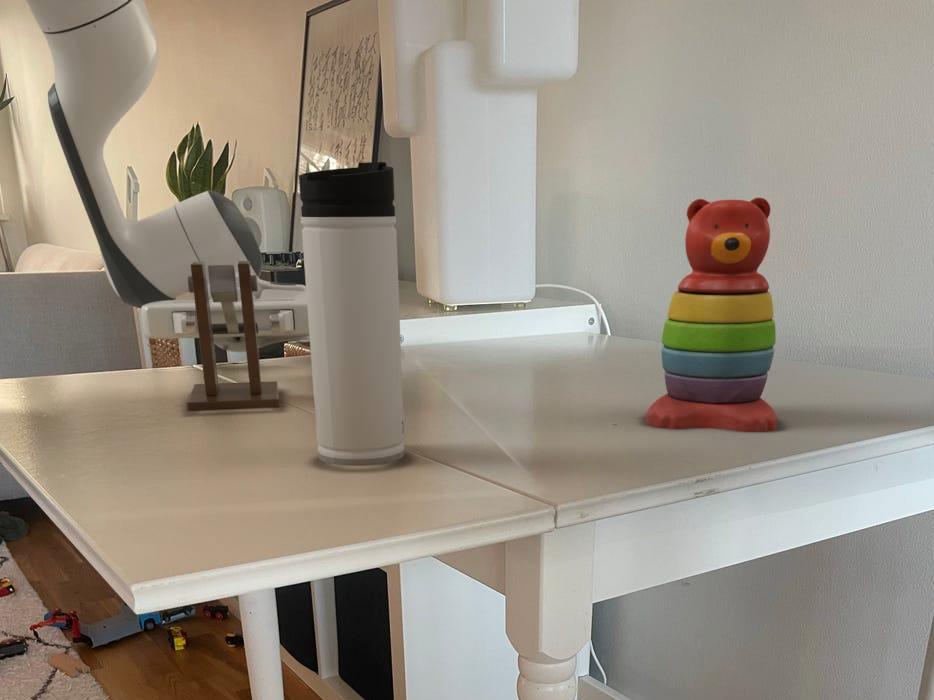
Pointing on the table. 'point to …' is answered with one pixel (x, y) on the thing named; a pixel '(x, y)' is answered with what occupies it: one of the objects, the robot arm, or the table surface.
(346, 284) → the travel mug
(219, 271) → the lever
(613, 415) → the table surface
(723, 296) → the stacking bear
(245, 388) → the brown wooden stand
